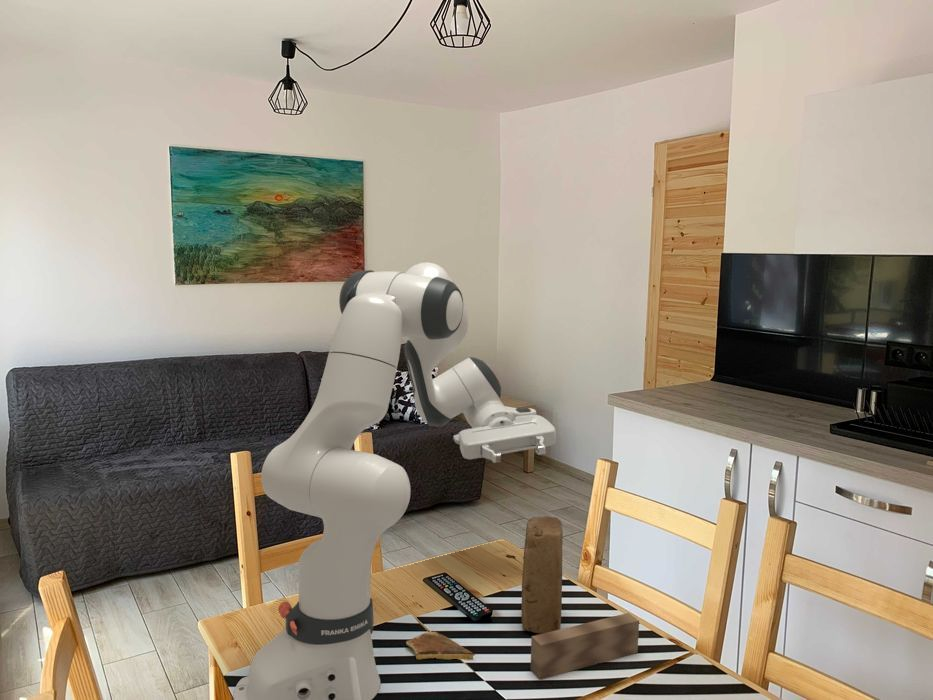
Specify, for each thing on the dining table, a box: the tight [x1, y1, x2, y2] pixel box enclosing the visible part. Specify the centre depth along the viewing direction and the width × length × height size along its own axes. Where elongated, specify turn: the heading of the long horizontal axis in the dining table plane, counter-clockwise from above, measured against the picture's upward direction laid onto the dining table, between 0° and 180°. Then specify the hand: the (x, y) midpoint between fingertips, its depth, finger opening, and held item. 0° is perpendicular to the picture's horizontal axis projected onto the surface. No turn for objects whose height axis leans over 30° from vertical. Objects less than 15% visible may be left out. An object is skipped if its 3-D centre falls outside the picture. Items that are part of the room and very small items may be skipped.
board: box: [530, 612, 640, 680], centre depth 122 cm, size 20×3×6 cm, turn 115°
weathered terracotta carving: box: [521, 516, 564, 634], centre depth 134 cm, size 11×8×20 cm
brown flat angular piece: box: [405, 631, 476, 661], centre depth 123 cm, size 11×8×2 cm
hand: (520, 455), depth 141 cm, fingers open, 8 cm apart
